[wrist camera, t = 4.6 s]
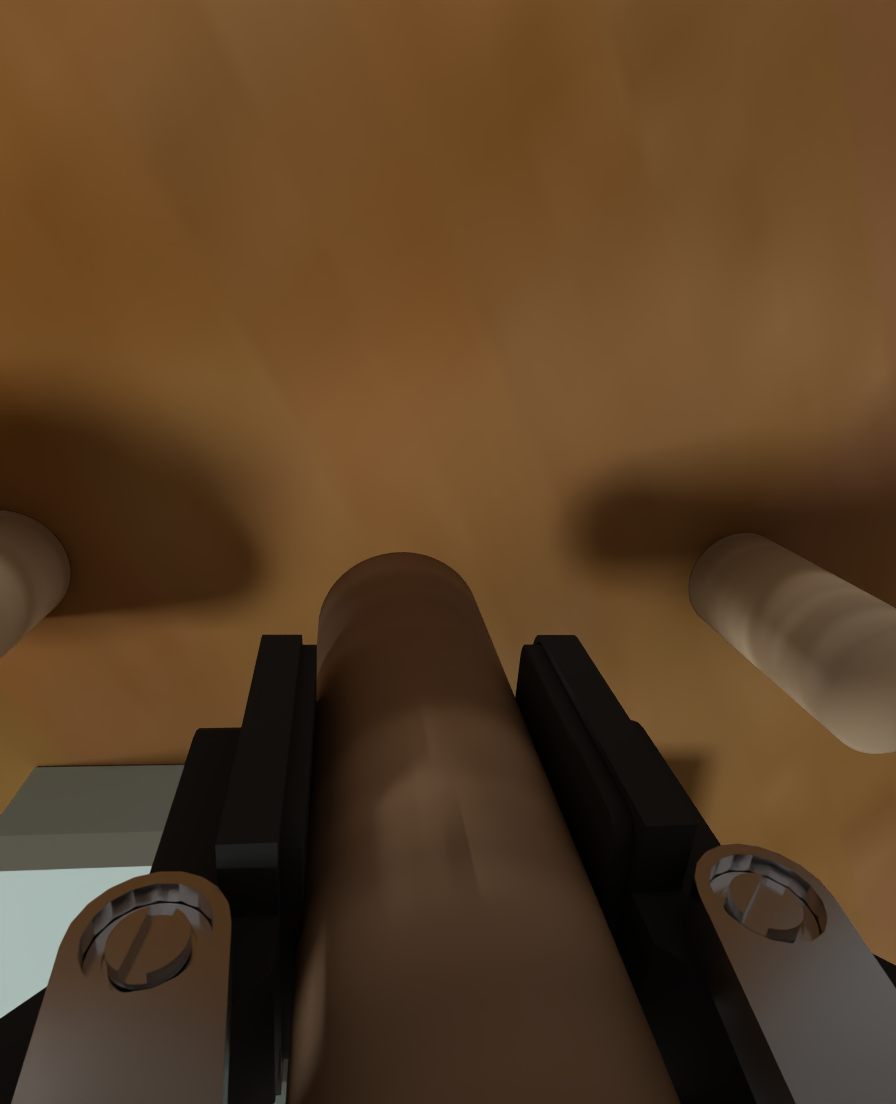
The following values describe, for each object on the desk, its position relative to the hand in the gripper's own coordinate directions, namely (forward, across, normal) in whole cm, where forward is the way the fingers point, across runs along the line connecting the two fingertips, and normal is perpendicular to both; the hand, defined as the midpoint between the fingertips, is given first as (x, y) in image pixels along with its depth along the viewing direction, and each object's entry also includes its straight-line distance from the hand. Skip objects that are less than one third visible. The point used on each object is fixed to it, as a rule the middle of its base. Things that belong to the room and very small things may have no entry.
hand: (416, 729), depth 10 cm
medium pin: (+9, -10, +2) cm, 14 cm away
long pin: (+3, 0, 0) cm, 3 cm away
